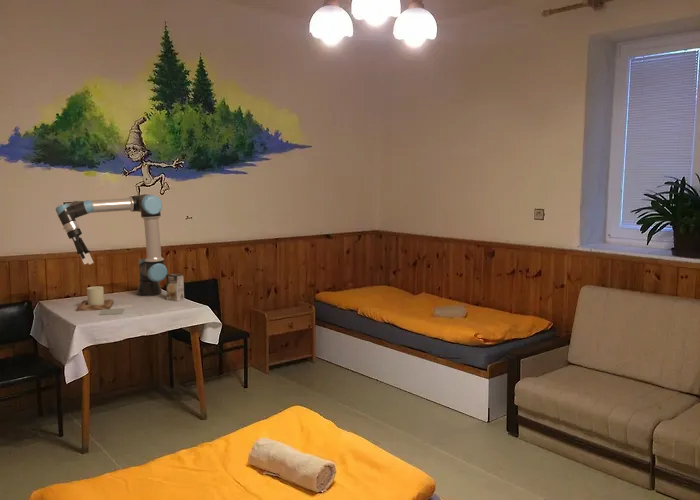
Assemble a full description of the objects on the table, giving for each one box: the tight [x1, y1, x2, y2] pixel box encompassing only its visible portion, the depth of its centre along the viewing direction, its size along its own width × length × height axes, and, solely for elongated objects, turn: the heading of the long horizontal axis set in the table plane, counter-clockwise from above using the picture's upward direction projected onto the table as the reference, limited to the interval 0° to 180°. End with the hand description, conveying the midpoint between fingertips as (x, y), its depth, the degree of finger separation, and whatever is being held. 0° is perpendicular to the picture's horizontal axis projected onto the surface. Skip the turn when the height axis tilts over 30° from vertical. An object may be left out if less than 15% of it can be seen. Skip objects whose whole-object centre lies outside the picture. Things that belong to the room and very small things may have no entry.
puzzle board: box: [77, 298, 115, 312], centre depth 361 cm, size 17×17×2 cm
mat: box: [98, 307, 126, 316], centre depth 348 cm, size 12×12×1 cm
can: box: [86, 285, 105, 305], centre depth 360 cm, size 9×9×12 cm
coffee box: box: [165, 272, 185, 302], centre depth 382 cm, size 9×6×16 cm
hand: (89, 263), depth 356 cm, fingers open, 13 cm apart
